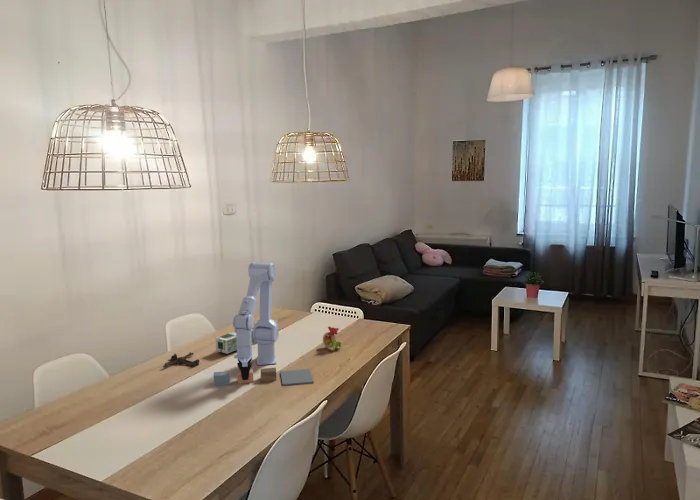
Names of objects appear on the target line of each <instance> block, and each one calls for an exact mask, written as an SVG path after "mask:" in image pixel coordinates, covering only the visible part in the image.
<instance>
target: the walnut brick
mask: <svg viewBox="0 0 700 500" xmlns="http://www.w3.org/2000/svg"><path fill="white" fill-rule="evenodd" d="M260 381H261V382H271V381H272V382H273V381H277V369H276V367H267V368H266V367H265V368H260Z"/></svg>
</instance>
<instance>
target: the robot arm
mask: <svg viewBox="0 0 700 500" xmlns="http://www.w3.org/2000/svg"><path fill="white" fill-rule="evenodd" d="M247 268H248V270H247V271H248V277H249V284H248V288H247V292H246V296H245V297H242V301H241V304H240V306H239V310H238V314H236V315H235V316H234V318H233V321H232V327H233V329H234V332H235V333H236V337H237V350H236V354H235V355H233V357H234V358H233V359H237V361H238V362H237V363H236V364H237V367H238V369H239V370H240V371H241V375H242V379H243V380H248V378H249V372H250V369H252V368H251V367H252V366H253V362H252V360H253V355H254V354H253V348H252V347H253V345H252V338H251V329H252V328H254V330H253V338H254V340H256V342H255V344H257V356H256V365H258V366H261V365H262V366H265V365H275V364H276V365H277V359H276V354H275V351H276V350H275V349H276V348H275V347H276V346H275V342H277V340H278V338H279V324H278V325H277V323H276V322H274V321H273V320H274V319H272V297H273V296H272V295H273V294H272V292H273V291H272V290H273V289H272V288H273V287H272V286H273V285H272V284H273V282H275V281H276V266H275V264H274V263H273V262H254V261H251V262H250V263H249V265H248V267H247ZM258 293H259V319H258V320H257V321H255V315H254V314H255V311H256V306H257V304H258V301H257V299H256V298H257V295H258ZM254 321H255V322H256V323H255V324H254Z"/></svg>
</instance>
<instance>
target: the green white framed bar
mask: <svg viewBox="0 0 700 500" xmlns="http://www.w3.org/2000/svg"><path fill="white" fill-rule="evenodd" d="M272 320H273V321H274V322H276V323H277V325H278V326H279V322H278V320H276V319H275V320H274V319H272ZM256 322H257V321H255V322H254V324H255V323H256ZM254 324H253V325H254ZM253 330H254V327H252V329H251V338H252V346H253V345H256V340H254V338H253ZM215 349H216V350H215V351H216V352H219V353H223V354H230V353H232V352H234V351H237V337H236V333H235V331H233V332H228V333H226V334H224V335H221V336H217V337H215Z"/></svg>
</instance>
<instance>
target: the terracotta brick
mask: <svg viewBox="0 0 700 500" xmlns="http://www.w3.org/2000/svg"><path fill="white" fill-rule="evenodd" d="M236 371H237V373H236V374H237V376H236V377H237V384H246V383H254V369H253V368H250V372H249V378H248V380H243V379H242V375H241V371H240V369H239V370H236Z"/></svg>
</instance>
